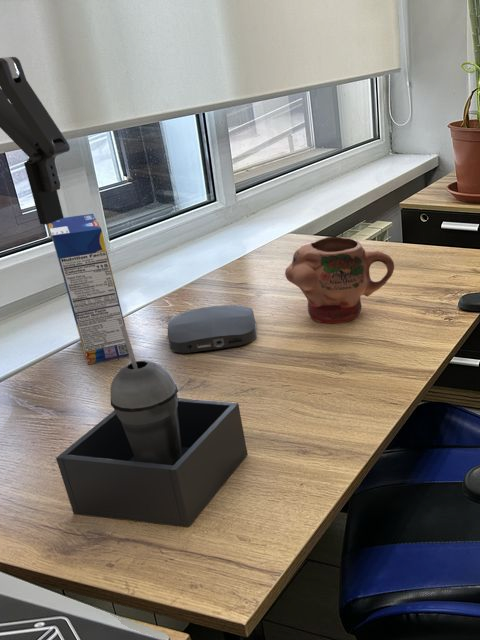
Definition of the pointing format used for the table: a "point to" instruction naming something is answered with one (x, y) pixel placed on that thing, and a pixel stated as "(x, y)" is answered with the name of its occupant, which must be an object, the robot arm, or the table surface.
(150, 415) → the beverage cup
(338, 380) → the table surface
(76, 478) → the desk bin
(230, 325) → the media streaming box
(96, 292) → the beverage box
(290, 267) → the pink ceramic mug
